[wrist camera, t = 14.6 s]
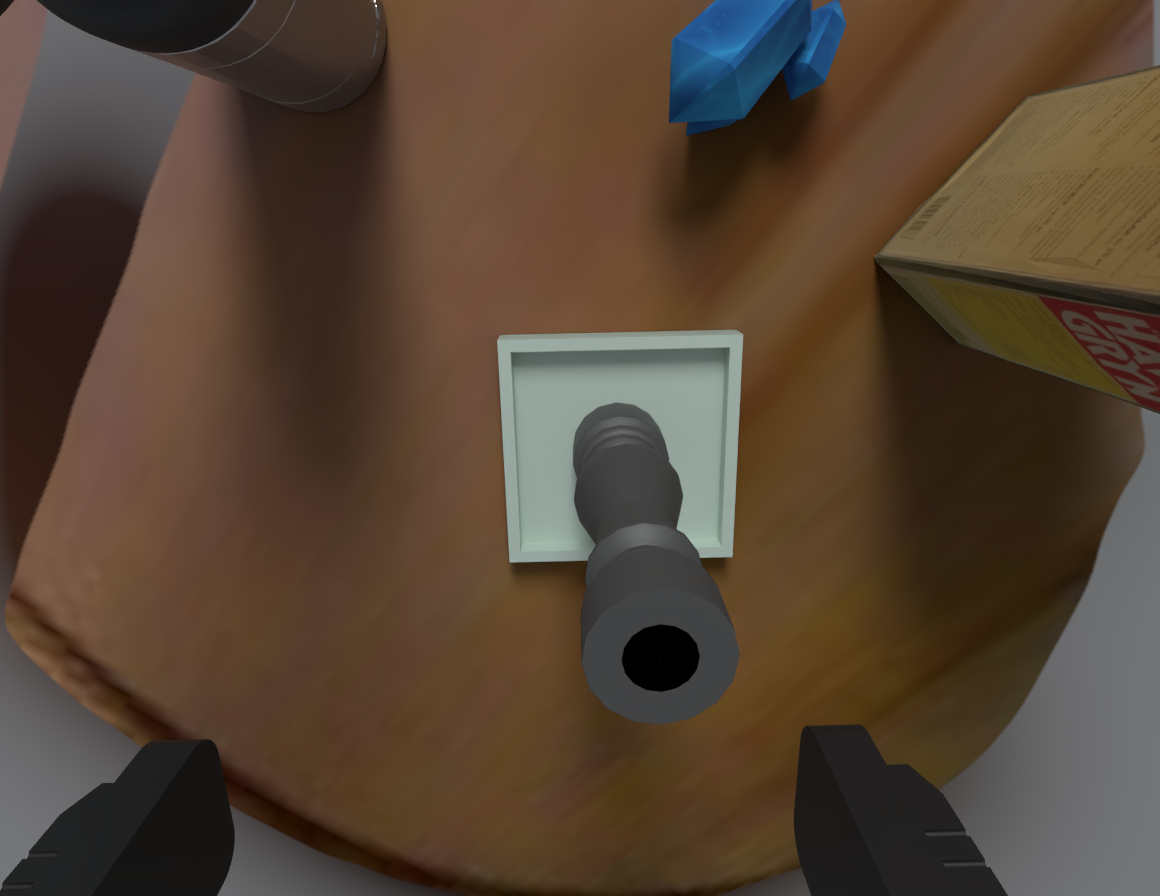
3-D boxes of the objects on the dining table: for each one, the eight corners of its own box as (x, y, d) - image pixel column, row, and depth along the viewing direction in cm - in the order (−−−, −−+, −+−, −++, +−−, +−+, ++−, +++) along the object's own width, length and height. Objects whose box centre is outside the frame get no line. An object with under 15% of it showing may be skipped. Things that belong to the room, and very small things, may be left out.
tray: (511, 549, 53) (509, 562, 51) (500, 335, 48) (497, 340, 46) (726, 544, 53) (732, 556, 51) (736, 329, 48) (743, 334, 46)
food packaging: (962, 352, 49) (1331, 486, 25) (867, 258, 47) (1170, 306, 23) (1125, 193, 46) (1718, 174, 22) (1031, 85, 44) (1571, -63, 20)
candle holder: (620, 505, 51) (663, 758, 28) (554, 449, 50) (539, 665, 26) (681, 442, 50) (782, 651, 26) (615, 383, 49) (657, 547, 25)
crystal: (911, 2, 37) (750, 178, 36) (825, 66, 45) (694, 209, 45) (814, -121, 35) (645, 63, 35) (744, -31, 43) (608, 117, 43)
